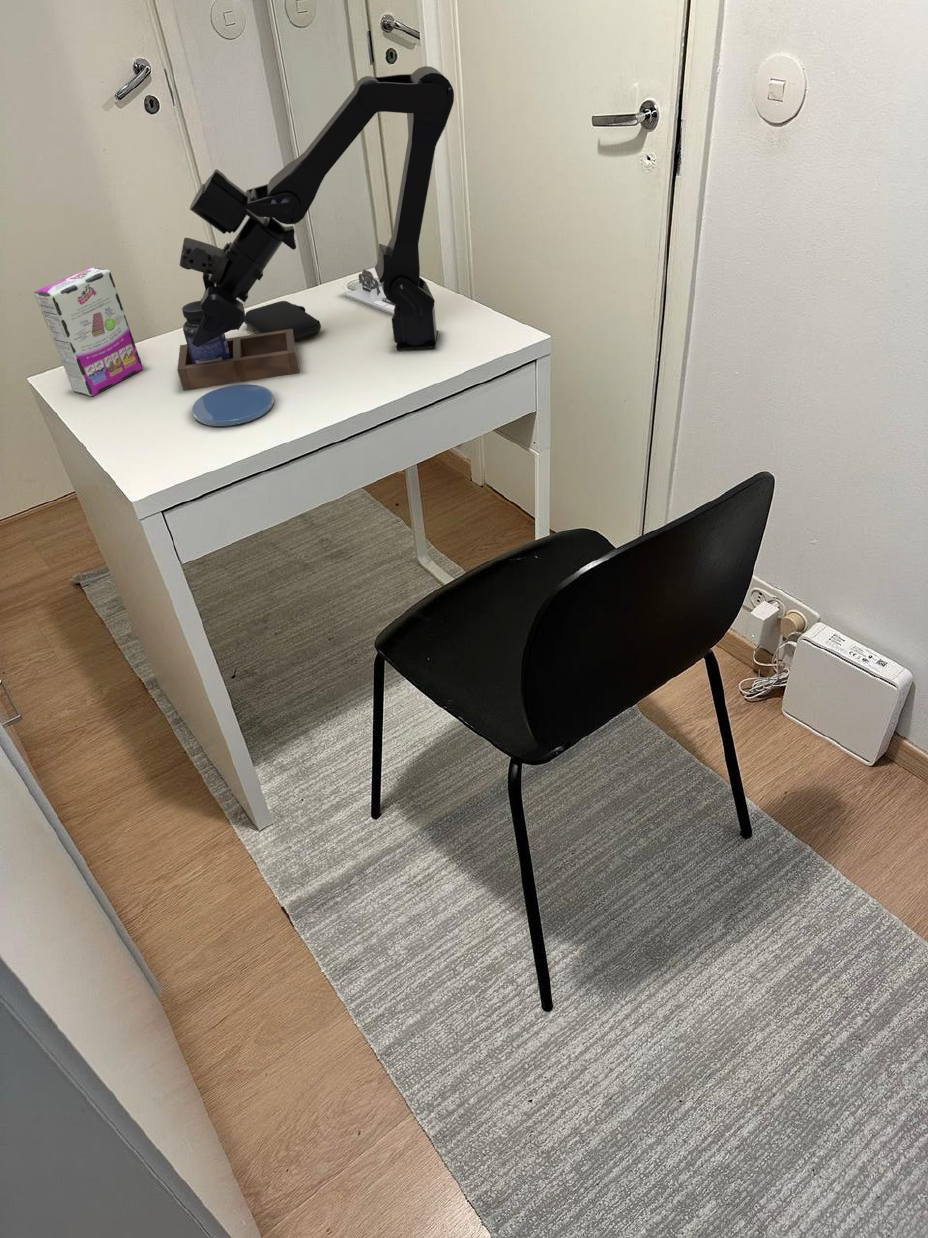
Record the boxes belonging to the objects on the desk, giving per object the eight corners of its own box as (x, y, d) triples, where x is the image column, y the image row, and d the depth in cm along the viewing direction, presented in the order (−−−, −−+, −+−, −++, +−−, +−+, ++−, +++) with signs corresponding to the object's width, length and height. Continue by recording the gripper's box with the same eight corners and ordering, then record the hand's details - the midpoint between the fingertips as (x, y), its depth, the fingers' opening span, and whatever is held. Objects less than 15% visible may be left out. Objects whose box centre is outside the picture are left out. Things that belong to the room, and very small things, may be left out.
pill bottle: (240, 372, 145) (223, 305, 138) (205, 384, 142) (186, 316, 135) (223, 361, 149) (206, 295, 142) (189, 373, 146) (170, 306, 139)
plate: (282, 389, 139) (280, 382, 138) (263, 426, 130) (262, 419, 129) (207, 391, 140) (205, 385, 140) (183, 429, 131) (181, 422, 131)
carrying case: (332, 334, 154) (295, 310, 164) (329, 317, 152) (292, 294, 162) (275, 352, 150) (241, 326, 160) (272, 334, 148) (237, 310, 158)
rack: (296, 348, 151) (292, 328, 148) (299, 372, 143) (295, 351, 141) (185, 365, 149) (180, 344, 147) (183, 390, 141) (177, 369, 139)
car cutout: (344, 296, 168) (341, 271, 165) (373, 285, 171) (369, 261, 168) (394, 315, 159) (390, 289, 156) (422, 303, 162) (420, 278, 159)
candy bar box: (124, 364, 151) (90, 265, 140) (144, 369, 149) (112, 269, 138) (70, 392, 144) (31, 290, 133) (91, 397, 142) (53, 294, 131)
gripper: (204, 200, 138) (152, 282, 144) (200, 237, 124) (143, 326, 130) (266, 246, 144) (214, 323, 150) (269, 286, 130) (211, 369, 136)
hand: (195, 334), depth 141 cm, fingers open, 8 cm apart
